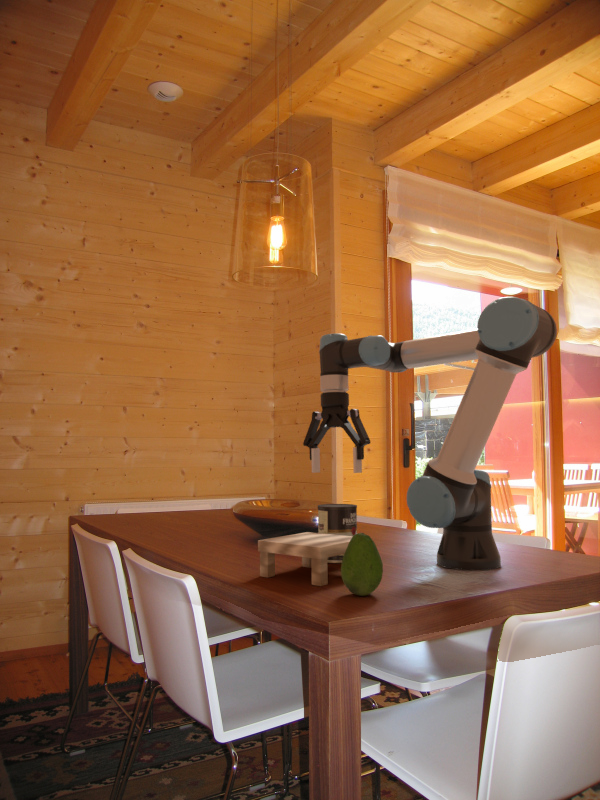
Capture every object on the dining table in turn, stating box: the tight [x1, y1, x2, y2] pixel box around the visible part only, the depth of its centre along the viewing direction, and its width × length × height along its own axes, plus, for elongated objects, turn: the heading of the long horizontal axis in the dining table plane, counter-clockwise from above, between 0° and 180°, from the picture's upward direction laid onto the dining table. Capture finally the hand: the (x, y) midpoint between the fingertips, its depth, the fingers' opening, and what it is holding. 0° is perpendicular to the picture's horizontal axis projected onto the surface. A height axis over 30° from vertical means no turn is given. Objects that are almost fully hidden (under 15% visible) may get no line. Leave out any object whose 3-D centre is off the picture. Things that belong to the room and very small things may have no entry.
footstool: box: [257, 531, 353, 587], centre depth 140 cm, size 18×18×8 cm
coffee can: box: [317, 503, 358, 564], centre depth 159 cm, size 10×10×14 cm
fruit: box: [340, 532, 384, 597], centre depth 120 cm, size 8×8×12 cm
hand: (336, 472), depth 161 cm, fingers open, 13 cm apart
